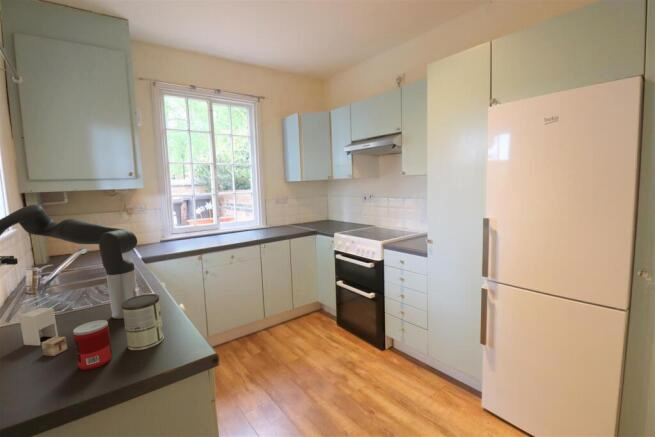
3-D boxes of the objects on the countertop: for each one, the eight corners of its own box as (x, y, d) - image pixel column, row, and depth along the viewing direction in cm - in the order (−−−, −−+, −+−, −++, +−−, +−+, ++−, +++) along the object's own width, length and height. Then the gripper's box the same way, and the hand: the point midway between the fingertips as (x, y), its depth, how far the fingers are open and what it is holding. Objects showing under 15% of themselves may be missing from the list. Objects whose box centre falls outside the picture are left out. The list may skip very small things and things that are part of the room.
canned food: (119, 356, 92) (114, 321, 91) (91, 372, 85) (85, 334, 83) (100, 353, 95) (95, 318, 93) (72, 368, 87) (66, 331, 86)
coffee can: (123, 342, 100) (117, 300, 99) (158, 331, 107) (153, 291, 106) (131, 354, 93) (125, 309, 91) (168, 341, 100) (163, 298, 98)
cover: (24, 344, 102) (19, 315, 101) (43, 335, 108) (39, 307, 107) (39, 345, 101) (34, 316, 100) (58, 336, 107) (53, 308, 106)
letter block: (43, 355, 95) (41, 342, 95) (57, 348, 99) (55, 336, 99) (54, 356, 94) (52, 343, 94) (67, 349, 98) (65, 337, 98)
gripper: (-69, 259, 99) (-29, 259, 96) (-13, 248, 113) (23, 248, 110) (-64, 282, 100) (-25, 282, 97) (-9, 269, 114) (27, 269, 111)
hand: (1, 264), depth 103 cm, fingers open, 8 cm apart
